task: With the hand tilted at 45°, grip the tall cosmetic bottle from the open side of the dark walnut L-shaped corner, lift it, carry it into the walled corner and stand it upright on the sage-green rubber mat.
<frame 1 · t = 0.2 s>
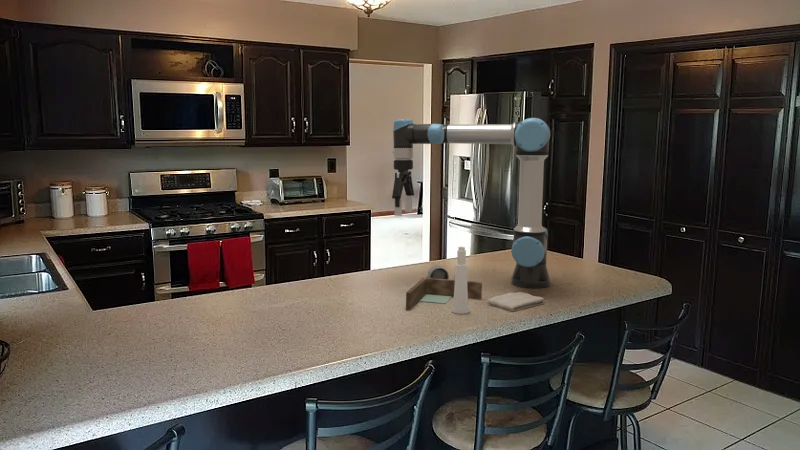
hand: (403, 213, 240), 28 cm above the counter, tool pointing down, fingers open, 13 cm apart
ceramic mug: (434, 285, 242), on the counter
walnut corner walls: (445, 303, 215), on the counter
washcloth: (516, 306, 215), on the counter
cosmetic bottle: (460, 312, 206), on the counter
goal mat: (435, 299, 220), on the counter
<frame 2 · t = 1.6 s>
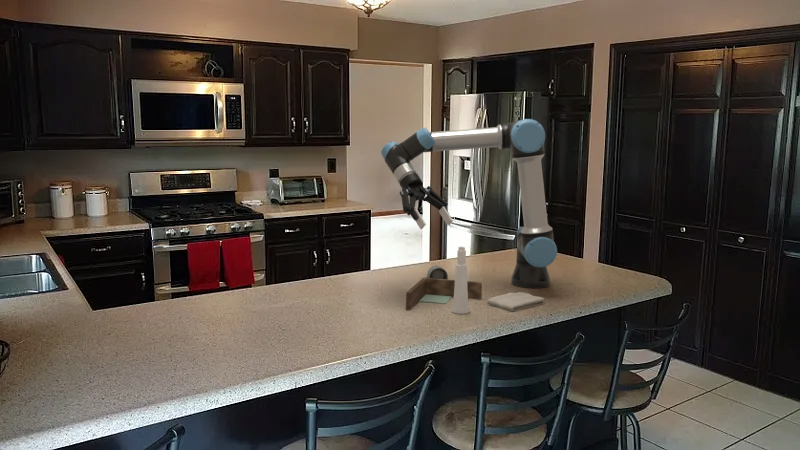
hand: (437, 225, 212), 28 cm above the counter, tool tilted 45°, fingers open, 13 cm apart
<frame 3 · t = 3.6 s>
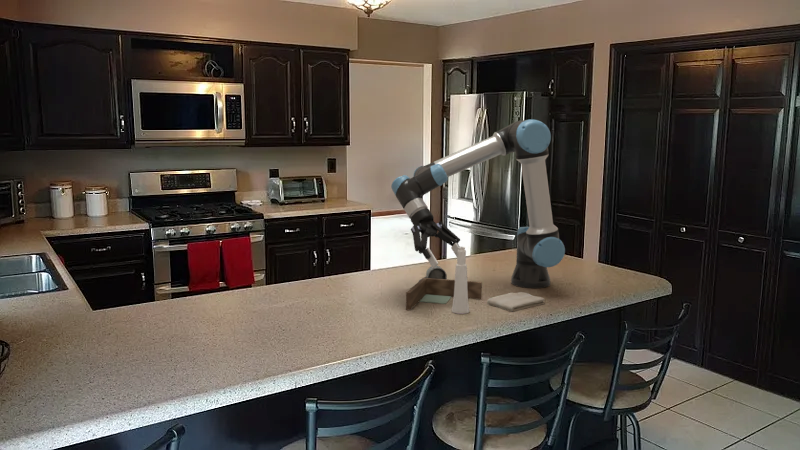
hand: (449, 263, 206), 16 cm above the counter, tool tilted 45°, fingers open, 13 cm apart
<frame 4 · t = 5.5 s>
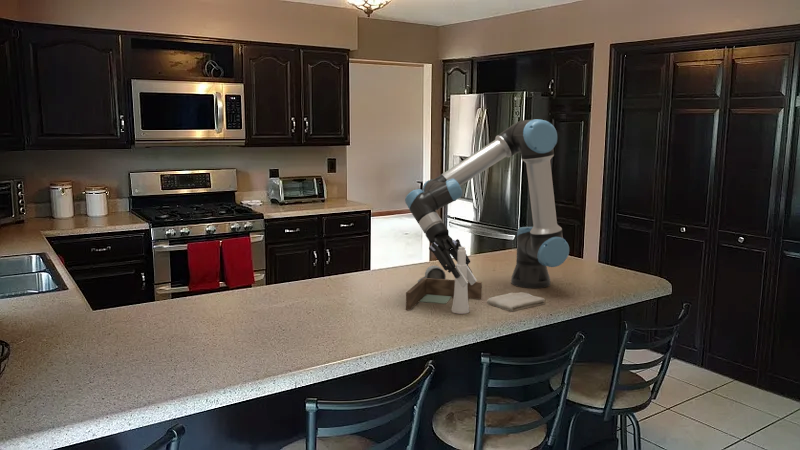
hand: (469, 283, 201), 10 cm above the counter, tool tilted 45°, fingers closed on cosmetic bottle, 4 cm apart
cosmetic bottle: (460, 311, 206), on the counter, touching gripper
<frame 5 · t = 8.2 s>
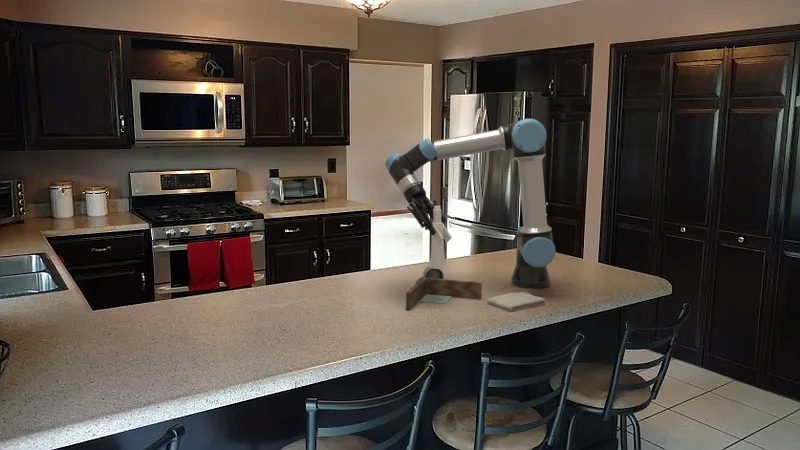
hand: (445, 240, 214), 22 cm above the counter, tool tilted 45°, fingers closed on cosmetic bottle, 4 cm apart
cosmetic bottle: (437, 267, 219), point 12 cm above the counter, touching gripper
when the fingers open (12 cm above the counter, at t = 10.9 s): cosmetic bottle drops 1 cm, resting on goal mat.
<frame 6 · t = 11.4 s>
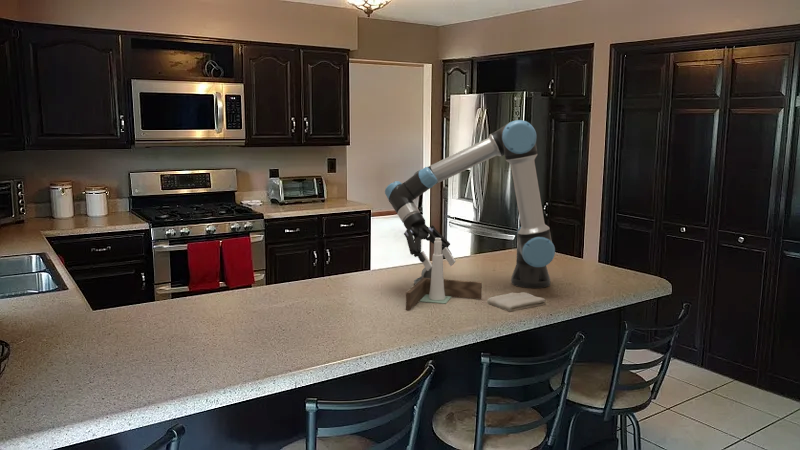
hand: (441, 266, 216), 13 cm above the counter, tool tilted 45°, fingers open, 11 cm apart
cosmetic bottle: (436, 298, 221), resting on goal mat
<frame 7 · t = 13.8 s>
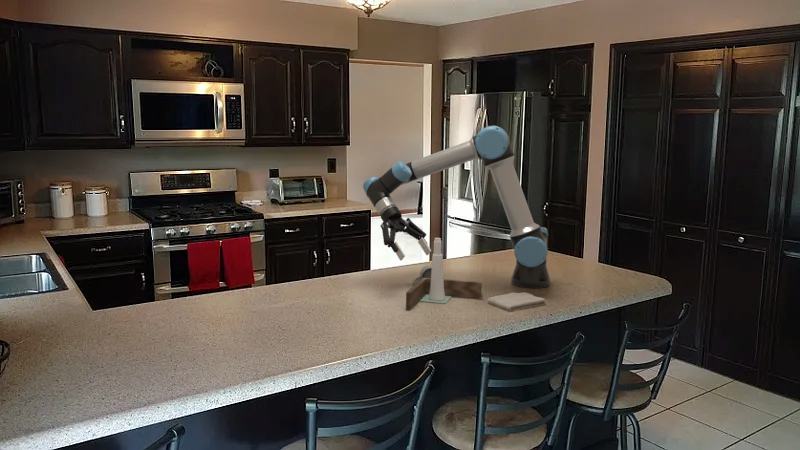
hand: (416, 255, 226), 14 cm above the counter, tool tilted 45°, fingers open, 13 cm apart
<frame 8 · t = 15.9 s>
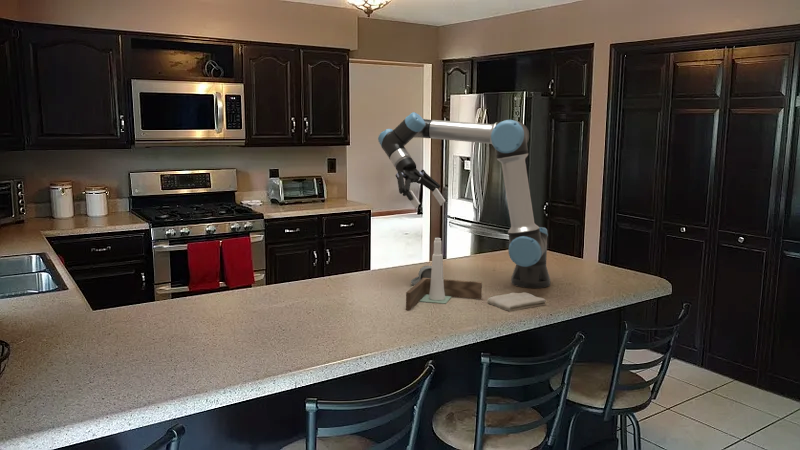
hand: (430, 204, 229), 33 cm above the counter, tool tilted 45°, fingers open, 13 cm apart
at the end: cosmetic bottle inside the target area (0.6 cm from its centre), resting on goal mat; cosmetic bottle tilted 0°; the gripper is holding nothing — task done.
